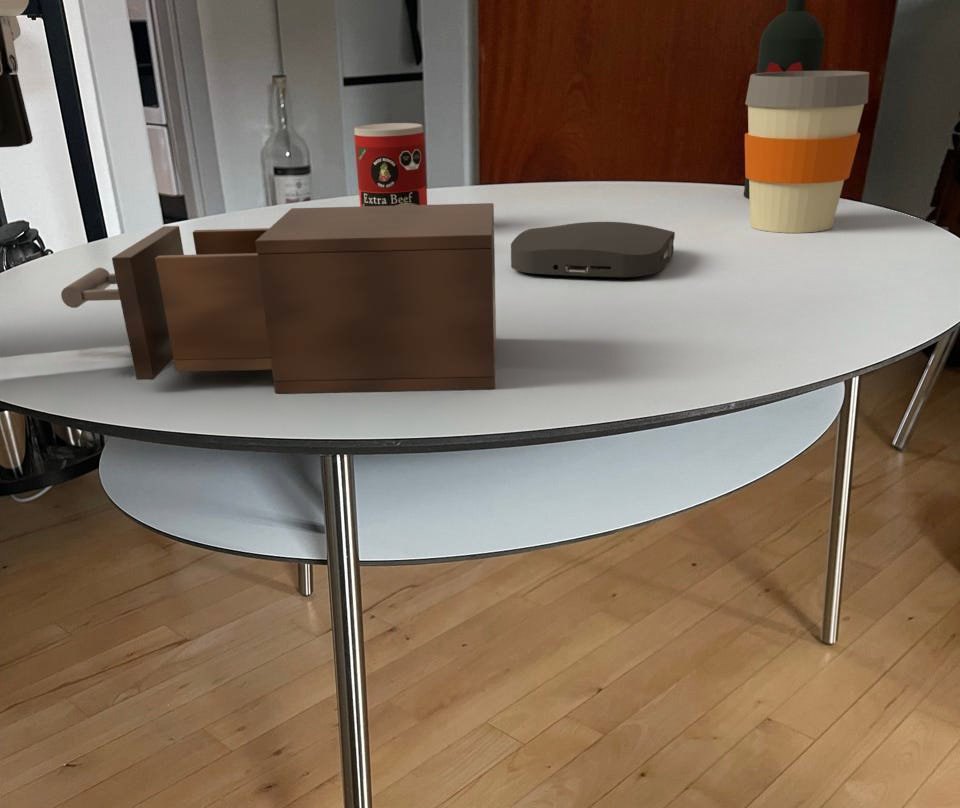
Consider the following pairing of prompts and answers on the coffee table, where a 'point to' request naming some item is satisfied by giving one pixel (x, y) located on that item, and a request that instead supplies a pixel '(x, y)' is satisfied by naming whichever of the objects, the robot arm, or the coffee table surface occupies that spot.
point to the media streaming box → (593, 250)
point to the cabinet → (380, 298)
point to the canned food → (391, 164)
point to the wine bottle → (790, 45)
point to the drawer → (186, 301)
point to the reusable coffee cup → (801, 146)
